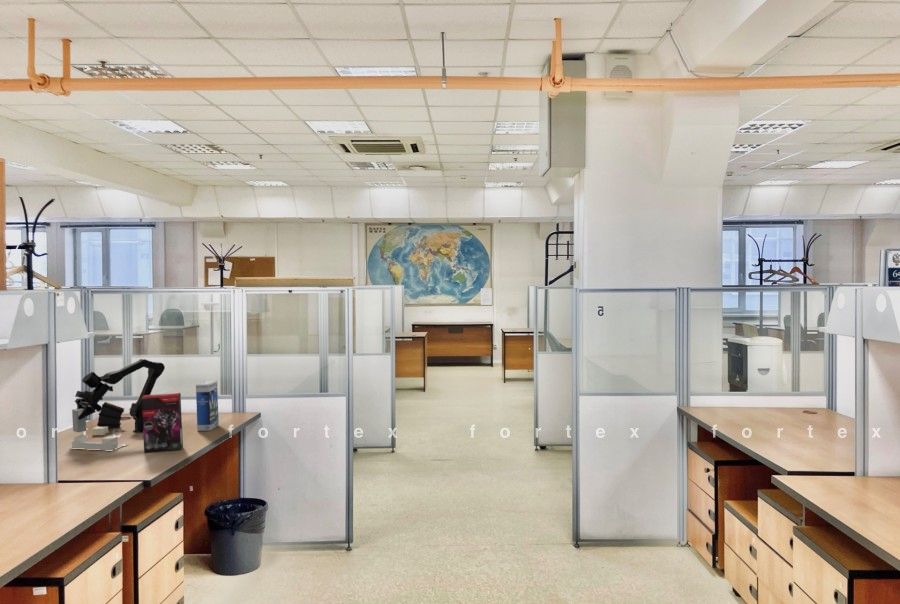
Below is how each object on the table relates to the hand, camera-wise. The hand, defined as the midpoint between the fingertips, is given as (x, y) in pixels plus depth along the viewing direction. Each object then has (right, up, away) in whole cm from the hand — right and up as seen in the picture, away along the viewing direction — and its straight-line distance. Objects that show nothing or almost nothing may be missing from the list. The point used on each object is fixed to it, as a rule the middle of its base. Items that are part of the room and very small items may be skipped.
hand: (76, 418), depth 313 cm
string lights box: (+55, -12, +31) cm, 64 cm away
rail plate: (+15, -13, -5) cm, 21 cm away
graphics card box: (+50, -13, -12) cm, 53 cm away
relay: (+1, -13, +21) cm, 24 cm away
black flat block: (-1, -12, +34) cm, 36 cm away
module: (+1, -7, +1) cm, 7 cm away
